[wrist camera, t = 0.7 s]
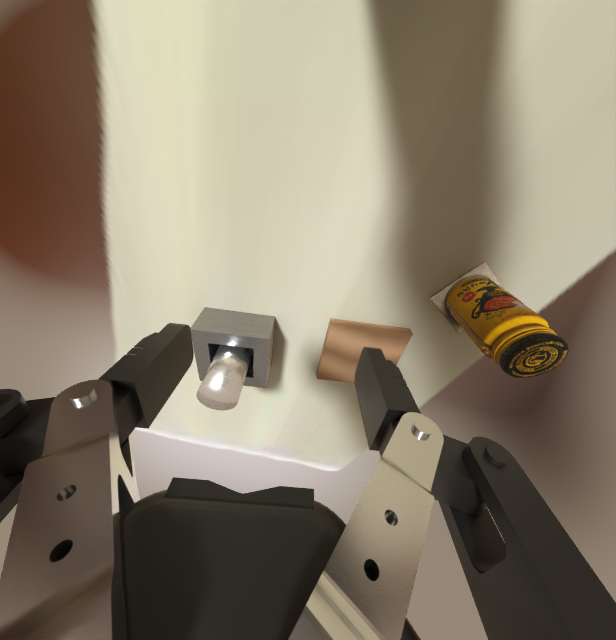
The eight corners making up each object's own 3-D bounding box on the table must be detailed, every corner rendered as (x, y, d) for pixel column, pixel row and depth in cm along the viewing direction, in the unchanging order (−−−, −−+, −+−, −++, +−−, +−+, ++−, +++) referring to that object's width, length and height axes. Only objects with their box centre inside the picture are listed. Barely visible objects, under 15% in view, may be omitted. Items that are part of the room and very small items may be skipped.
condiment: (484, 260, 28) (572, 318, 19) (510, 302, 32) (596, 370, 22) (429, 297, 32) (479, 363, 22) (458, 332, 35) (512, 402, 25)
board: (330, 318, 34) (330, 323, 33) (409, 329, 35) (412, 334, 34) (316, 373, 41) (316, 378, 40) (383, 380, 42) (384, 386, 41)
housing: (205, 307, 33) (189, 329, 29) (274, 316, 34) (269, 339, 30) (211, 356, 39) (200, 380, 35) (271, 363, 40) (266, 387, 36)
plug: (222, 328, 34) (193, 383, 26) (255, 332, 35) (236, 388, 27) (224, 351, 37) (199, 408, 29) (255, 355, 37) (238, 412, 29)
